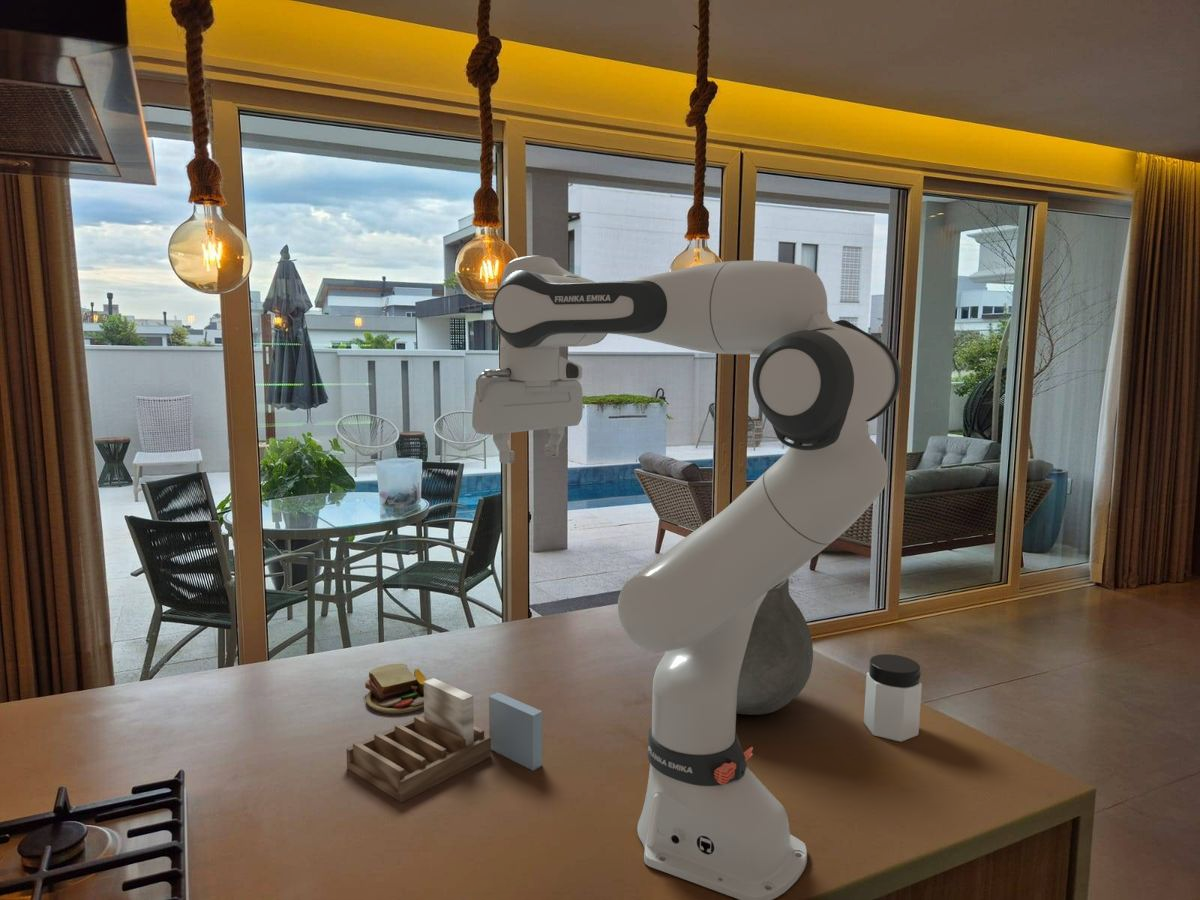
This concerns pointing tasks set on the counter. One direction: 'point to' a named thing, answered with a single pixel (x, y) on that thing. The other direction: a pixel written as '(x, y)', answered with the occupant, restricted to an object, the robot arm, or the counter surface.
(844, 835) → the counter surface
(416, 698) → the toy sandwich meal
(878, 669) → the jar
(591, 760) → the counter surface
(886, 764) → the counter surface
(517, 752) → the grey upright panel
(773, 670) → the ceramic pot
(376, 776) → the rack
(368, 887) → the counter surface
